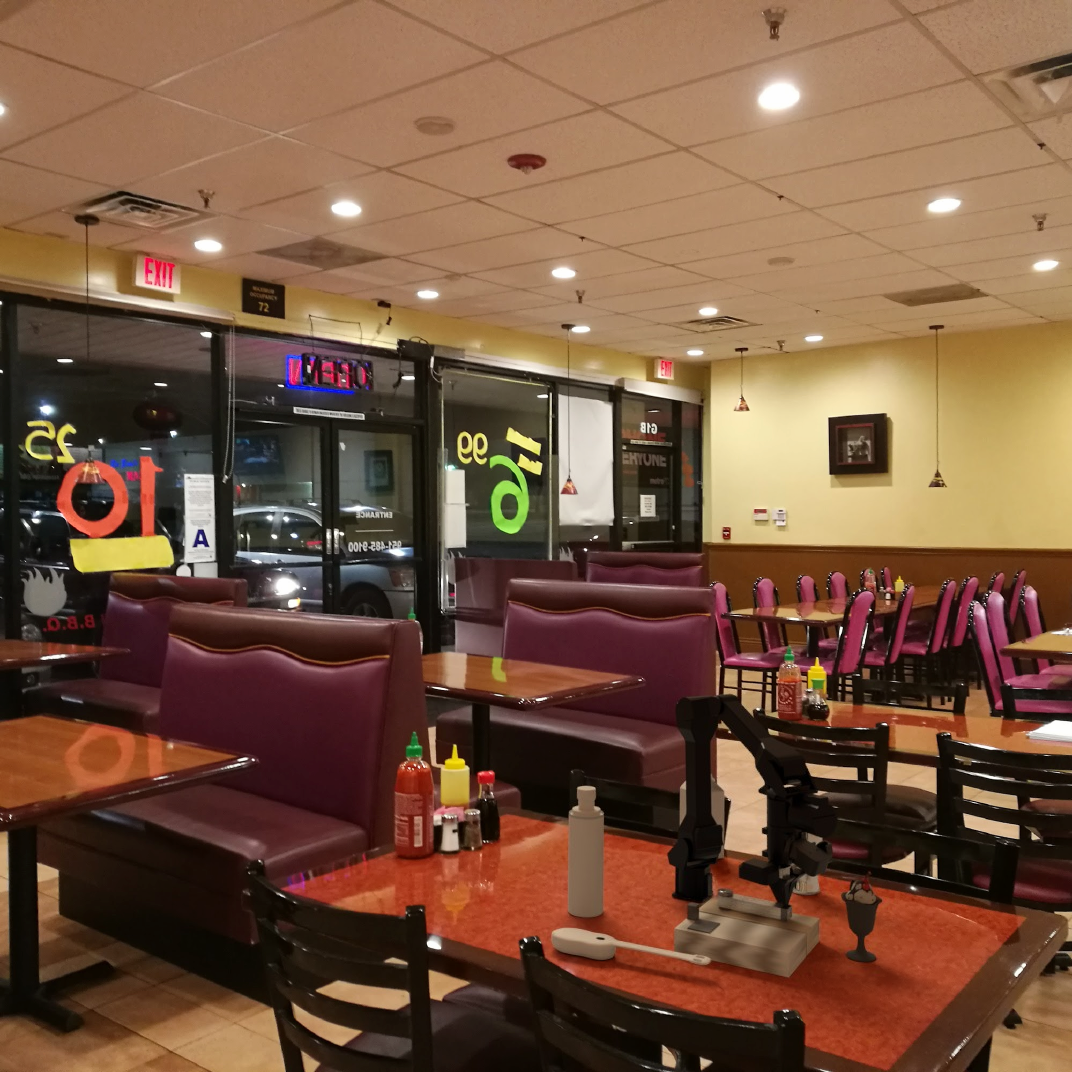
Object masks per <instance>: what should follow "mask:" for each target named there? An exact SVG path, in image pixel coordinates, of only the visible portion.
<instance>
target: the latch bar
mask: <svg viewBox="0 0 1072 1072" xmlns="http://www.w3.org/2000/svg"><path fill="white" fill-rule="evenodd" d="M717 899H718V902H717V906H718V907H723V908H728V909H732V910H737V911H742V912H746V913H751V914H756V915H761V916H765V917H770V918H775V919H779V920H783V921H788V920H789V919H790V918H791V917H792V913H793V905H792V904H782V903H778V902H777V901H772V900H771V901H770V900H767V899H762V898H758V897H752V896H748V895H743V894H742V895H741V894H738V893H734V890H733V889H730V888H724V887H723V888H719V889H717Z"/></svg>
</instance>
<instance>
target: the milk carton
mask: <svg viewBox="0 0 1072 1072" xmlns="http://www.w3.org/2000/svg"><path fill="white" fill-rule="evenodd" d="M711 804H712V816H713V818H714V820H715V821H716V823H717V824H718V825H722V828H723V833H722V839H723V844H724V845H723V846H722V848H721V853H720V854H719V857H718V859H724V858H725V857H724V856H725V790H724V789H723V788H722V787H721V786H720V785H719V784H718V783H716V778H714V777H713V774H712V773H711ZM685 815H686V780H685V781H684V782H683V783H682V784H681V786H680V787H679V826H680V825H681V823H682V821H683V819H684V817H685Z"/></svg>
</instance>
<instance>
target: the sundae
mask: <svg viewBox="0 0 1072 1072" xmlns="http://www.w3.org/2000/svg"><path fill="white" fill-rule="evenodd" d="M871 875H872V872H871V871H868V872H867V873H866V875H865V876H864V877H863V878H861V879H859V880H854V879H851V880H850V884H849V889H848V891H844V892H842V893H841V894H840V896H841V900H842V901H843V902H844V903H845V907H846V915H847V923H848V927H849V929H850V931H851V932H852V933H853V934H854V935H855V936H856V937H857V944H856V948H855V949H849V950H847V952H845V956H846V957H847V958H848V959H850V960H852V961H854V962H858V963H860V962H861V963H872V962H874V961H875V960H876V959H877V956H876V955H875V954H874V953H873V952H871V951H868V950H867V948H866V946H865V939H866V937H867V936H869V935H870V934H871V933H872V932H873V930H874V928H875V927H874V926H875V923H876V917H877V916H876V915H877V911H878V910H877V909H878V907H879V904H881V903H882V902H883V899H882V898H881V897H879V896H878V895H876V894H875V893H874V890H873V887H872V885H871V884H870V880H869V879H868V877H869V876H871Z"/></svg>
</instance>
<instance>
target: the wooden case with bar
mask: <svg viewBox="0 0 1072 1072" xmlns="http://www.w3.org/2000/svg"><path fill="white" fill-rule="evenodd" d="M717 902H718V897H717V898H716V897H711V898H710V899H709V900H708V901H706V902H704V904H703V905H702V906H700V904H699V903H696V902H689V903H688V904H687V905H686V918H685V919H684V920H683V921H681V923H679V924H678V925H677V926H675V927H674V929H673V931H674V933H673V934H674V936H673V937H674V938H673V951H674V952H679V953H684V954H690V955H702V956H706V957H708V958H710V959H711V961H713V962H718V963H722V964H727V965H731V966H734V967H735V966H736V967H738V968H739V967H740V968H744V969H749V970H753V971H757V972H762V973H766V974H771V975H776V976H779V977H784V978H787V979H788V978H790V977H791V975H792V974H793V973H794V972H795V971H796V969H798V967H799V966H800V965H801V964H802V962H803V961H804V960H805V959H806V957H807V956H808V955H809V954H810V953H811V952H812V950H813V949H814V948H815V947H816V946H817V944H818V943H819V942H820V918H819V917H815V916H808V915H805V914H799V913H795V912H794V913H793V912H792V917H791V918H790V919H789V920H788V921H783V920H779V919H775V918H770V917H765V916H761V915H756V914H751V913H746V912H742V911H737V910H732V909H728V908H723V907H718V906H717Z"/></svg>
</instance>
